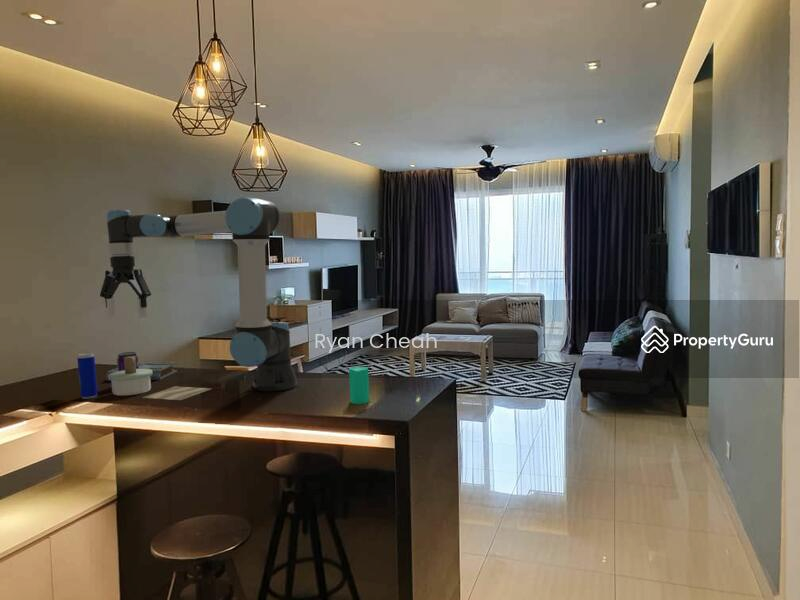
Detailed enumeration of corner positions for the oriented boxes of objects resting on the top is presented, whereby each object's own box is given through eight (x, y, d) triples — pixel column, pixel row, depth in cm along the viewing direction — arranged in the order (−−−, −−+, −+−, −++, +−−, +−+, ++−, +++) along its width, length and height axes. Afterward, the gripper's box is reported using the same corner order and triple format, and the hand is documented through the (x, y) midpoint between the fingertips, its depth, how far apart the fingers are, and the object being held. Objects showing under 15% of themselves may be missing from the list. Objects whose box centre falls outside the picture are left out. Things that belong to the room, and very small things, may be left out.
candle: (346, 402, 185) (344, 364, 184) (358, 398, 190) (356, 360, 189) (361, 404, 182) (360, 365, 181) (373, 400, 187) (371, 362, 186)
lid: (161, 372, 212) (160, 354, 212) (131, 381, 199) (129, 361, 199) (130, 371, 217) (129, 353, 217) (99, 379, 204) (97, 360, 203)
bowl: (158, 389, 212) (157, 373, 212) (132, 398, 201) (131, 380, 201) (131, 388, 216) (130, 371, 216) (105, 396, 205) (103, 379, 205)
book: (106, 382, 230) (105, 370, 229) (127, 373, 246) (126, 361, 246) (159, 381, 229) (158, 368, 228) (177, 372, 245) (176, 360, 245)
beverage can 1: (84, 395, 208) (81, 353, 206) (100, 394, 208) (96, 352, 207) (78, 399, 202) (74, 355, 201) (93, 398, 203) (90, 354, 201)
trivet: (212, 390, 208) (212, 388, 208) (180, 402, 193) (180, 400, 193) (175, 388, 213) (175, 386, 213) (141, 399, 198) (141, 397, 198)
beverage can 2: (132, 387, 218) (129, 355, 217) (114, 387, 219) (112, 355, 218) (144, 383, 225) (141, 351, 224) (127, 382, 226) (124, 351, 225)
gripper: (159, 254, 204) (163, 316, 206) (103, 256, 212) (107, 315, 214) (142, 254, 197) (147, 318, 199) (85, 257, 205) (90, 318, 207)
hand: (127, 317), depth 207 cm, fingers open, 13 cm apart
